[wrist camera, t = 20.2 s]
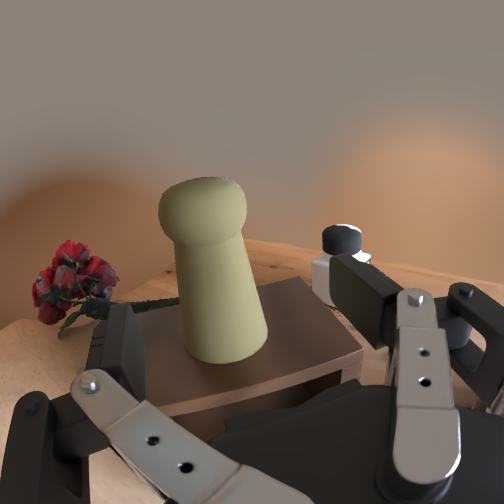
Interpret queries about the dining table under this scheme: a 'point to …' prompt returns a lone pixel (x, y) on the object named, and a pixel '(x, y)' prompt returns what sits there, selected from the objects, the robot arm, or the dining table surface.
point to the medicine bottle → (335, 243)
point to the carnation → (80, 287)
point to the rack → (249, 362)
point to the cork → (213, 269)
